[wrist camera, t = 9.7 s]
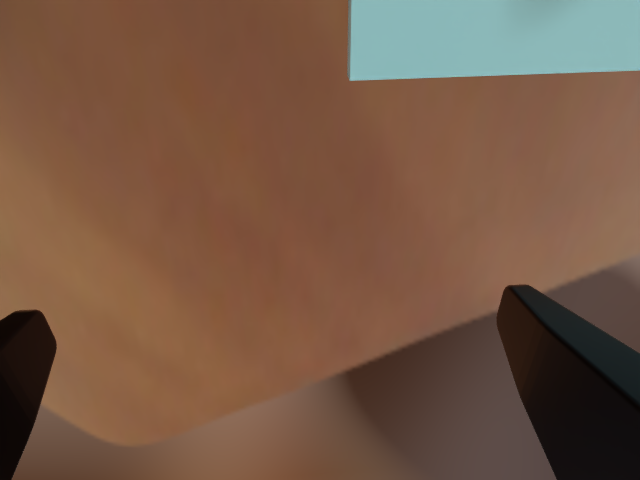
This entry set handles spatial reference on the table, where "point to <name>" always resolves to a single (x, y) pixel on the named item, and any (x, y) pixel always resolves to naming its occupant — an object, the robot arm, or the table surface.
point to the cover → (490, 37)
